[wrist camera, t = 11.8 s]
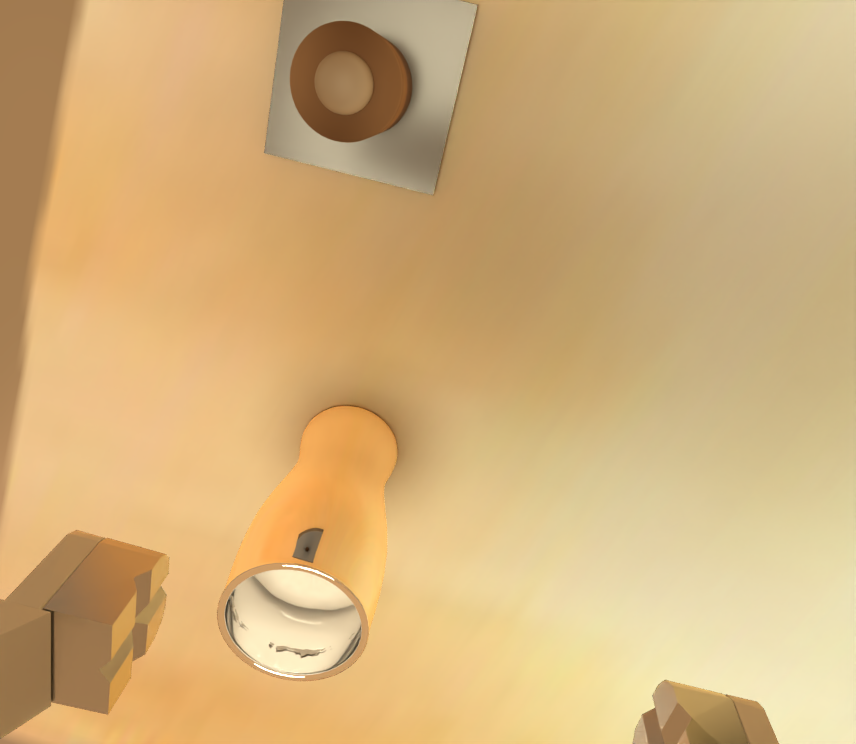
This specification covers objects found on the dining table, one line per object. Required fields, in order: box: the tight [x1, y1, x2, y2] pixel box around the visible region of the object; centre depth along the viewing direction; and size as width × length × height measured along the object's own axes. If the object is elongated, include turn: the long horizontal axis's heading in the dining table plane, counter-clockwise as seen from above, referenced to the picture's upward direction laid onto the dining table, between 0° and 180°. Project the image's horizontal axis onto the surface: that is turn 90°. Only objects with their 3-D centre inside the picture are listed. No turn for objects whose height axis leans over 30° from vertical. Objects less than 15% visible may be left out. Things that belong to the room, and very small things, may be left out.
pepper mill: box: [290, 21, 412, 143], centre depth 30 cm, size 5×5×7 cm
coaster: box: [264, 0, 478, 195], centre depth 33 cm, size 9×9×1 cm
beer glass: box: [217, 406, 398, 681], centre depth 35 cm, size 7×7×15 cm
